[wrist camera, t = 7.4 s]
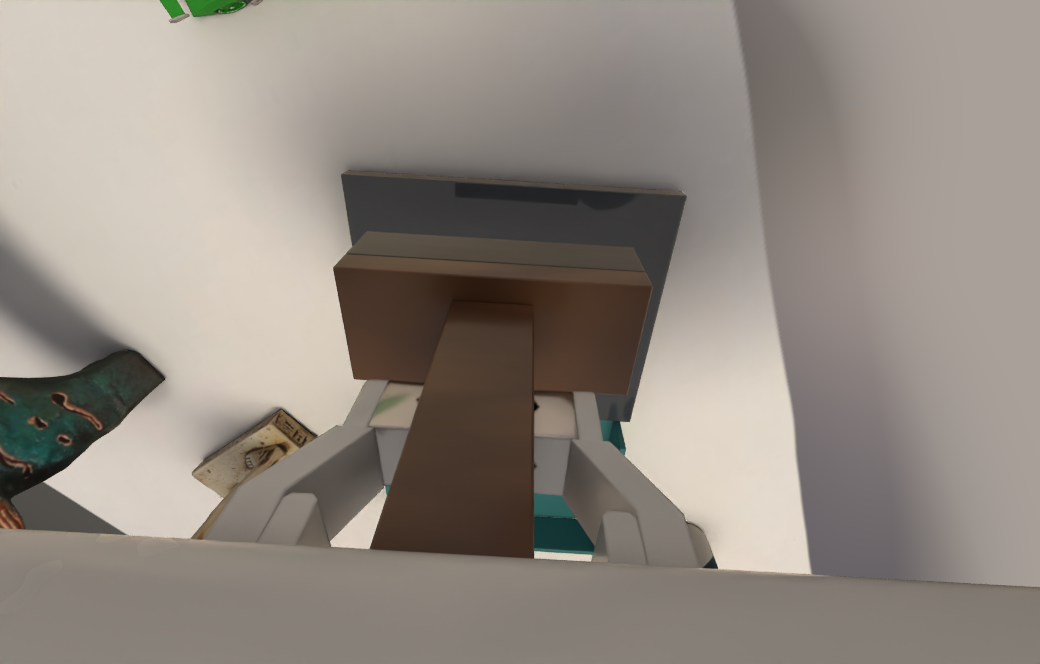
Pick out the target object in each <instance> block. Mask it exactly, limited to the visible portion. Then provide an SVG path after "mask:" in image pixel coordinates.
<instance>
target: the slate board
mask: <svg viewBox="0 0 1040 664" xmlns="http://www.w3.org/2000/svg"><path fill="white" fill-rule="evenodd" d="M341 178H342V184H343V190H344V197H345V203H346V209H347V216H348V222H349V228H350V235H351V241H352V247H353V246H354V245H355V243H356V242H357V241H358V240H359V239H360V238H361V237H362V236H363V235H364V234H365V233H366V232H367V231H373V232H390V233H406V234H422V235H439V236H455V237H471V238H488V239H504V240H521V241H537V242H553V243H570V244H586V245H602V246H619V247H633V248H634V250H635V252H636V254H637V256H638V258H639V260H640V262H641V264H642V266H643V268H644V270H645V273H646V274H647V276H648V278H649V280H650V282H651V284H652V286H653V289H652V294H651V298H650V302H649V306H648V310H647V315H646V319H645V323H644V327H643V331H642V335H641V340H640V344H639V348H638V352H637V356H636V361H635V365H634V369H633V373H632V377H631V381H630V386H629V390H628V394H627V395H613V394H596V393H594V394H595V398H596V403H597V409H598V414H599V420H605V421H621V422H630V419H631V415H632V411H633V407H634V403H635V399H636V395H637V391H638V387H639V383H640V379H641V375H642V371H643V367H644V363H645V359H646V356H647V352H648V348H649V344H650V340H651V336H652V332H653V328H654V324H655V320H656V316H657V312H658V308H659V304H660V300H661V296H662V292H663V288H664V284H665V280H666V276H667V272H668V268H669V264H670V260H671V256H672V252H673V249H674V245H675V241H676V237H677V233H678V229H679V225H680V221H681V217H682V213H683V209H684V205H685V201H686V197H687V196H686V195H685V194H684V193H683V192H682V191H672V190H656V189H640V188H624V187H608V186H592V185H576V184H560V183H544V182H528V181H512V180H496V179H480V178H464V177H448V176H432V175H416V174H400V173H384V172H368V171H352V170H348V171H346V172H344V173H343V174H341Z"/></svg>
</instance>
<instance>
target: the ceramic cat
mask: <svg viewBox="0 0 1040 664" xmlns="http://www.w3.org/2000/svg"><path fill="white" fill-rule="evenodd" d="M164 380H165V378H164V377H163V376H162V375H160V374H159V373H158V372H157V371H156V370H155V369H154V368H153V367H152V366H151V365H150V364H149V363H148V362H147V361H146V360H145V359H144V358H143V357H142V356H141V355H139V354H138V353H136V352H132V351H125V350H124V351H119V352H116V353H113V354H111V355H109V356H107V357H105V358H104V359H101V360H98V361H95V362H93V363H91V364H89V365H88V366H86V367H85V368H83V369H82V370H81V371H79V372H76V373H73V374H70V375H65V376H57V377H44V378H10V377H0V528H5V529H23V530H26V529H25V524H24V521H23V519H22V517H21V515H20V514H19V512H18V511H17V509H16V508H15V506H14V505H13V504H12V502H11V498H12V497H13V496H15V495H17V494H19V493H21V492H23V491H25V490H27V489H29V488H31V487H33V486H35V485H37V484H39V483H41V482H43V481H45V480H47V479H48V478H50V477H52V476H53V475H55V474H57V473H59V472H60V471H62V470H64V469H65V468H67V467H68V466H69V465H70V464H71V463H72V462H73V461H74V460H75V459H76V458H77V457H79V456H80V455H81V454H82V453H83V452H84V451H85V450H86V449H87V448H88V447H89V446H90V445H91V444H92V443H93V442H95V441H96V440H98V439H99V438H101V437H102V436H104V435H106V434H107V433H109V432H110V431H112V430H113V429H114V428H116V427H117V426H118V425H120V423H121V422H122V421H123V420H124V418H125V417H126V416H127V415H128V414H129V413H130V412H131V411H132V410H133V409H134V408H135V407H136V406H137V405H138V404H139V403H140V402H141V401H142V400H143V399H144V398H145V397H146V396H147V395H148V394H149V393H151V392H152V391H153V390H154V389H155V388H156V387H157V386H158V385H159V384H161V383H162V382H163V381H164Z"/></svg>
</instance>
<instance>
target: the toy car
mask: <svg viewBox="0 0 1040 664" xmlns="http://www.w3.org/2000/svg"><path fill="white" fill-rule="evenodd" d="M160 1H161V3H162V4H163V6H164V7H165V9H166V10H167V12H168V13H169V14H170V16H171V17H172V19H170V20H169V22H170V23H176V22H179V21H181V20H183V19H185V18H187V17H189V16H190V15H189V14H185V13H184V11H183V10H182V8H181V6H180V5H179V3H178V2H177V0H160ZM185 1H186V3H187V5H188V7H189V9H190V11H191V13H192V15H193V16H194V17H200V16H208V15H214V14H227V13H231V12H235V11H237V10H239V9H241V8H243V7H244V6H245V5H246V4H247V1H246V0H185ZM261 1H262V0H252V2H251V3H253V4H254V5H257V4H258V3H260V2H261Z"/></svg>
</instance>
